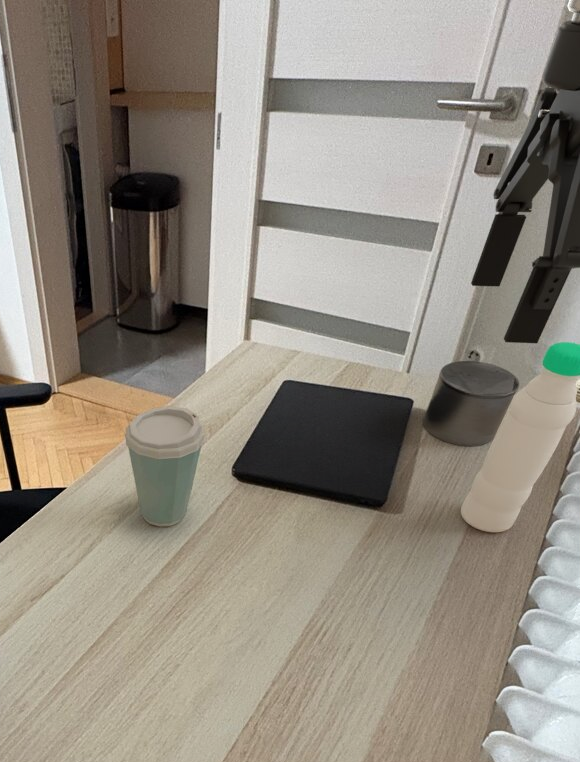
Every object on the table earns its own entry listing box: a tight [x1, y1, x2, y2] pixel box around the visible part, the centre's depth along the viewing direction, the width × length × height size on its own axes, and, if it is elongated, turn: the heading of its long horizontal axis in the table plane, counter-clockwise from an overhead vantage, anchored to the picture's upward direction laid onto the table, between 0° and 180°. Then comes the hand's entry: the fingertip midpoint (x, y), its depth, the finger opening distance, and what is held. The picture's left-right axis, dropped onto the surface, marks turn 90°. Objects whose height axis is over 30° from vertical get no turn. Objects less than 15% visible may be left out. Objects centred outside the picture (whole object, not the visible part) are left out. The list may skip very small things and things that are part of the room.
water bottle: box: [460, 341, 580, 533], centre depth 80 cm, size 7×7×25 cm
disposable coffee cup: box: [124, 405, 206, 527], centre depth 86 cm, size 11×11×15 cm
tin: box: [422, 360, 520, 447], centre depth 102 cm, size 12×12×9 cm
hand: (501, 311), depth 61 cm, fingers open, 13 cm apart
